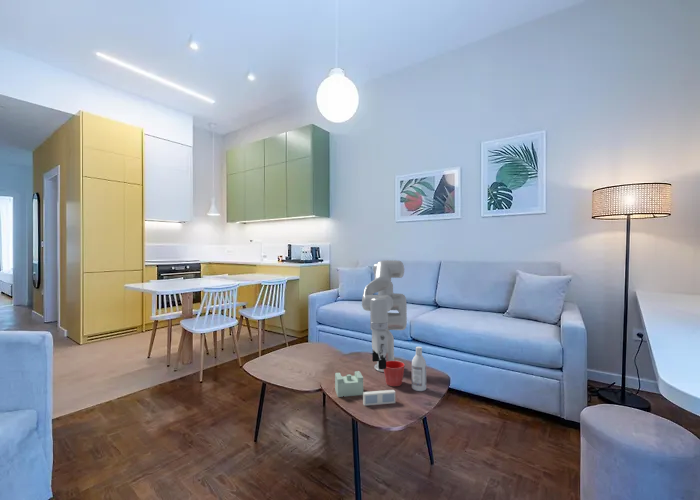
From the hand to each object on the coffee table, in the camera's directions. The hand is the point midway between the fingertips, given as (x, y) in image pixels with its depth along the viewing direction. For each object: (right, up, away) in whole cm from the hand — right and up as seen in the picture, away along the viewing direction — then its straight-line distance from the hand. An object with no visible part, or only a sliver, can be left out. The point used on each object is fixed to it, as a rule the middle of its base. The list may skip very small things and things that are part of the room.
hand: (379, 364), depth 138 cm
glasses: (0, -17, 0) cm, 17 cm away
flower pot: (+9, -17, +21) cm, 28 cm away
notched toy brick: (-13, -17, +11) cm, 24 cm away
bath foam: (+21, -17, +15) cm, 31 cm away
